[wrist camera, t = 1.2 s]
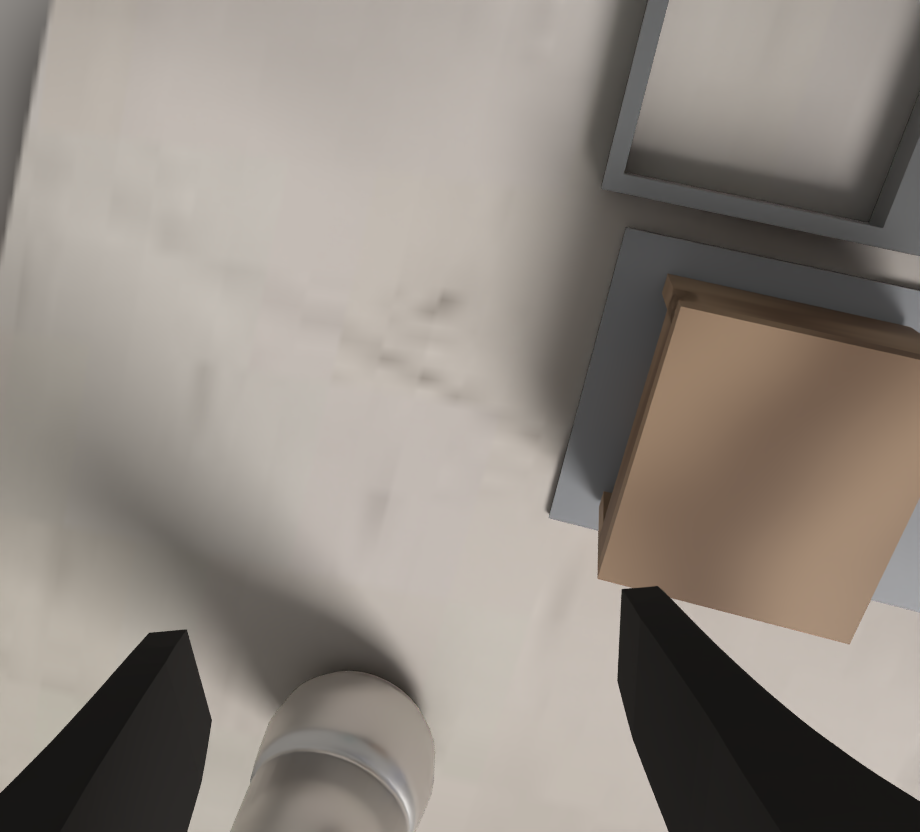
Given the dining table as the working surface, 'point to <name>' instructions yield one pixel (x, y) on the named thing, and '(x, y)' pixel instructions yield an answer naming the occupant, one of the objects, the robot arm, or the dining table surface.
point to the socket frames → (891, 225)
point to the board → (634, 342)
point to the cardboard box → (767, 459)
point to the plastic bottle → (341, 760)
